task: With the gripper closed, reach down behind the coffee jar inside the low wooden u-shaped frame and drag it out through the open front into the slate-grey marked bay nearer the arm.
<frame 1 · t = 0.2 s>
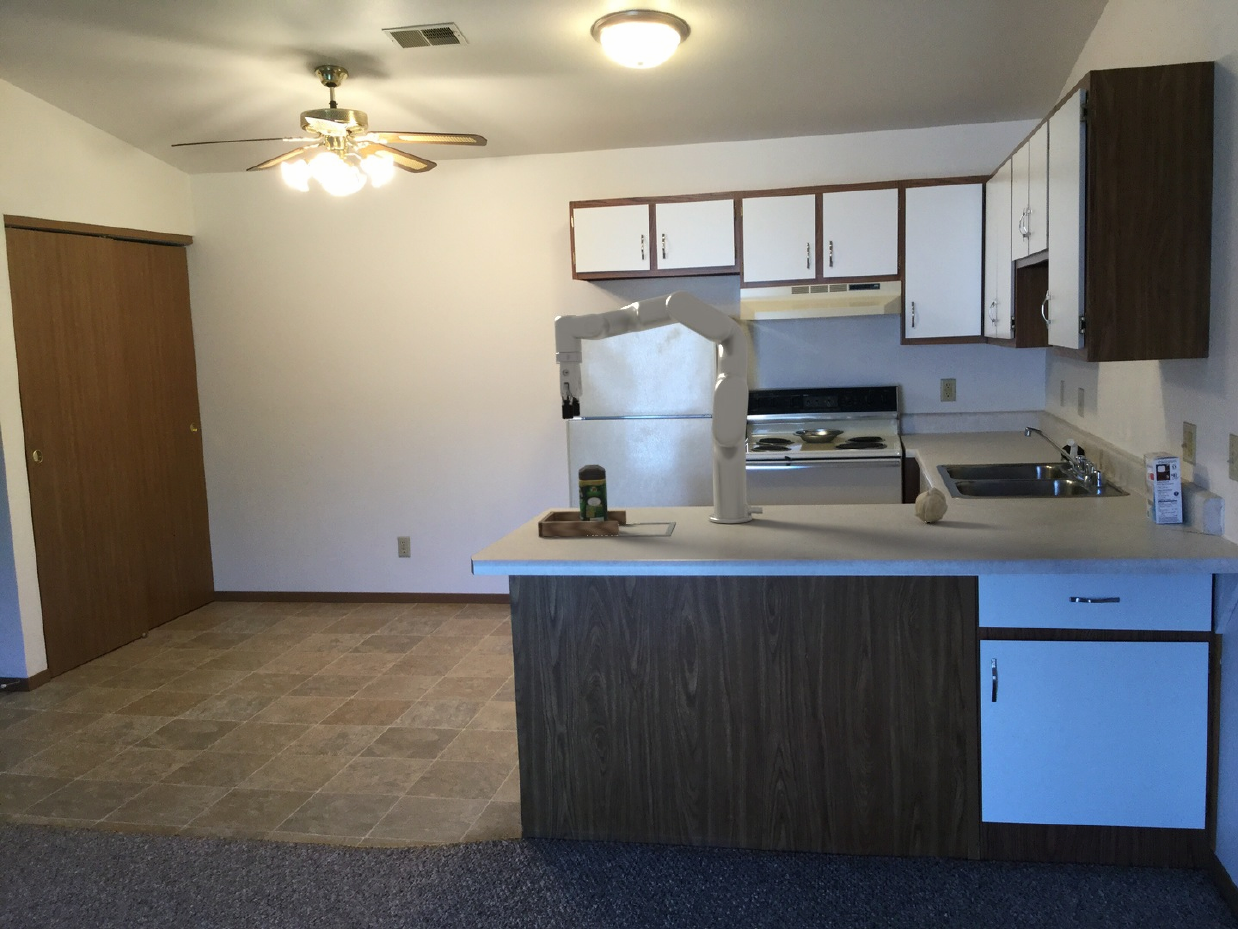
hand: (571, 417, 283), 31 cm above the countertop, tool pointing down, fingers open, 9 cm apart
wooden u-shaped frame: (577, 530, 275), on the countertop
coffee jar: (594, 530, 275), on the countertop
grey bay: (647, 529, 273), on the countertop
garlic bulb: (931, 523, 267), on the countertop
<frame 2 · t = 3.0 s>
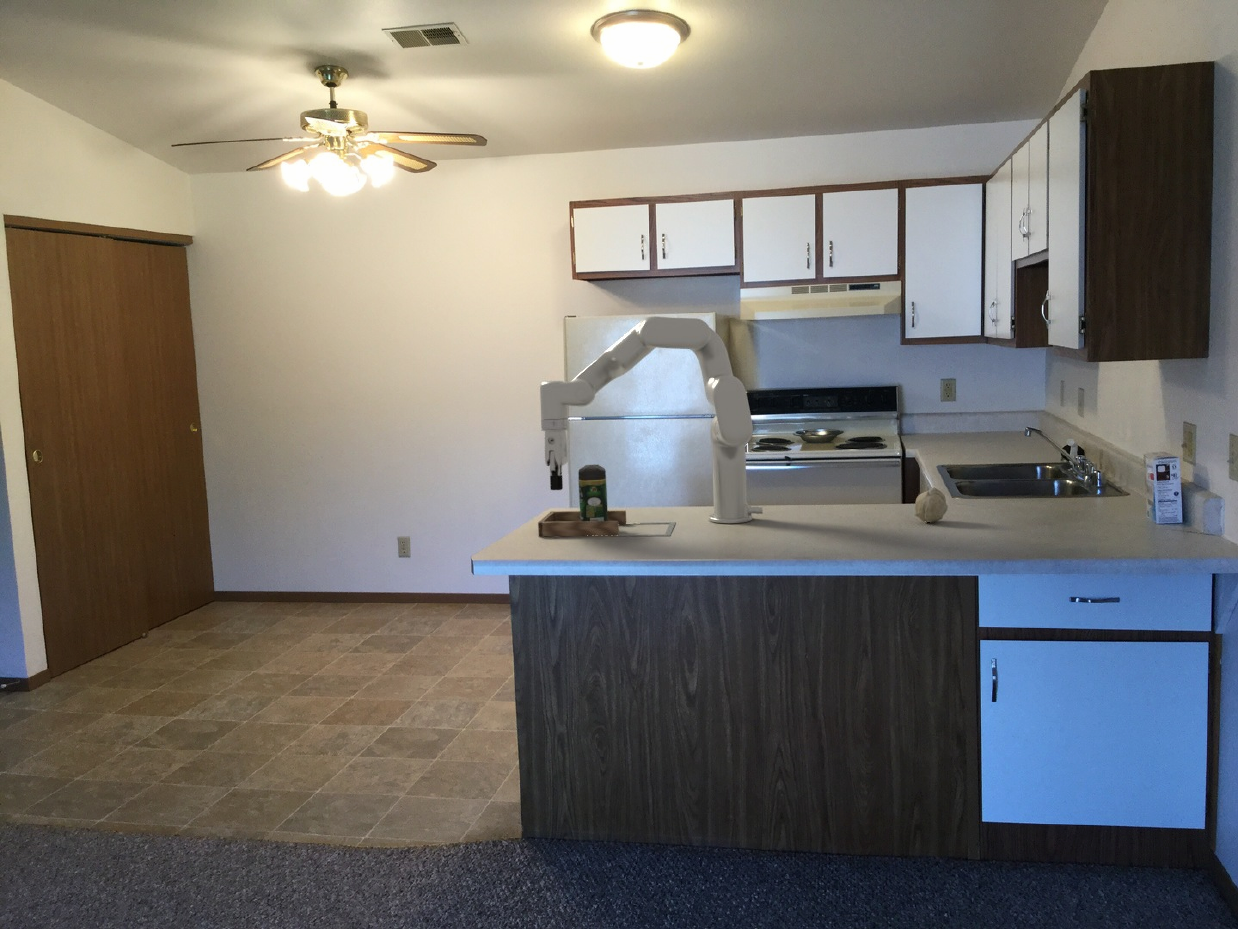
hand: (556, 489, 275), 12 cm above the countertop, tool pointing down, fingers closed
nothing on the countertop moved.
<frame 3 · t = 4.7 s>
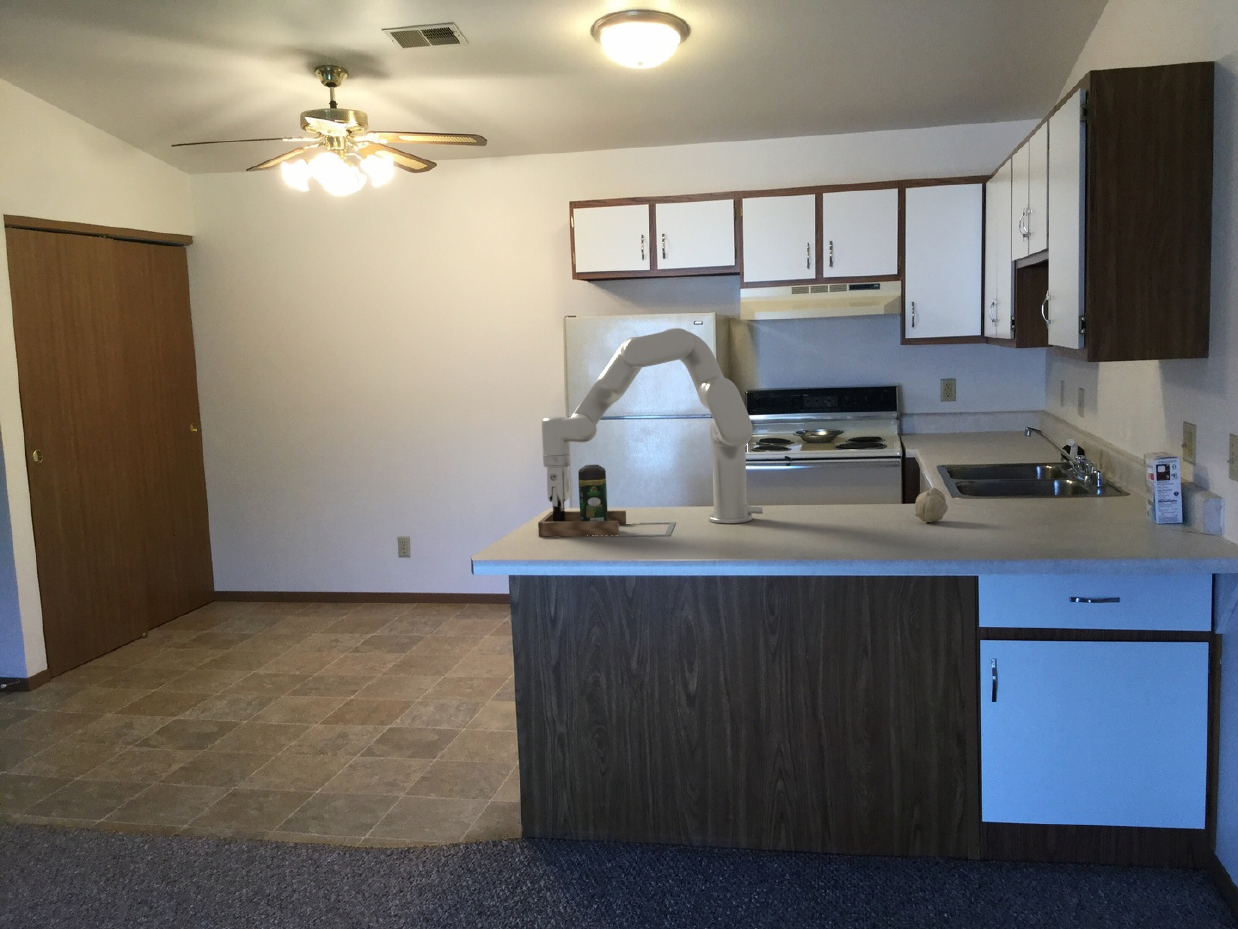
hand: (559, 524, 276), 2 cm above the countertop, tool pointing down, fingers closed
nothing on the countertop moved.
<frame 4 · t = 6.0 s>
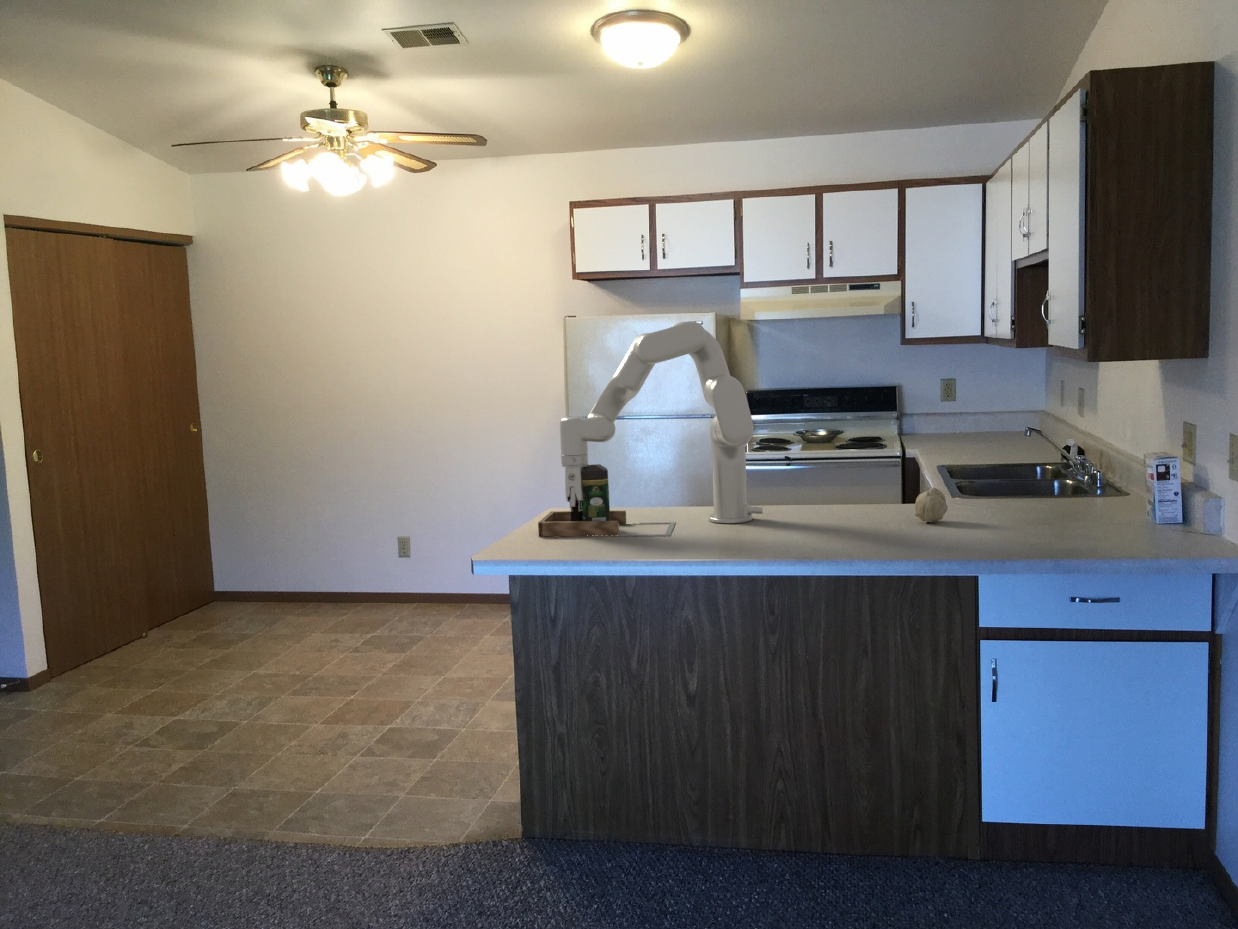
hand: (577, 524, 275), 2 cm above the countertop, tool pointing down, fingers closed
coffee jar: (596, 530, 275), on the countertop, touching gripper
everything else where it was.
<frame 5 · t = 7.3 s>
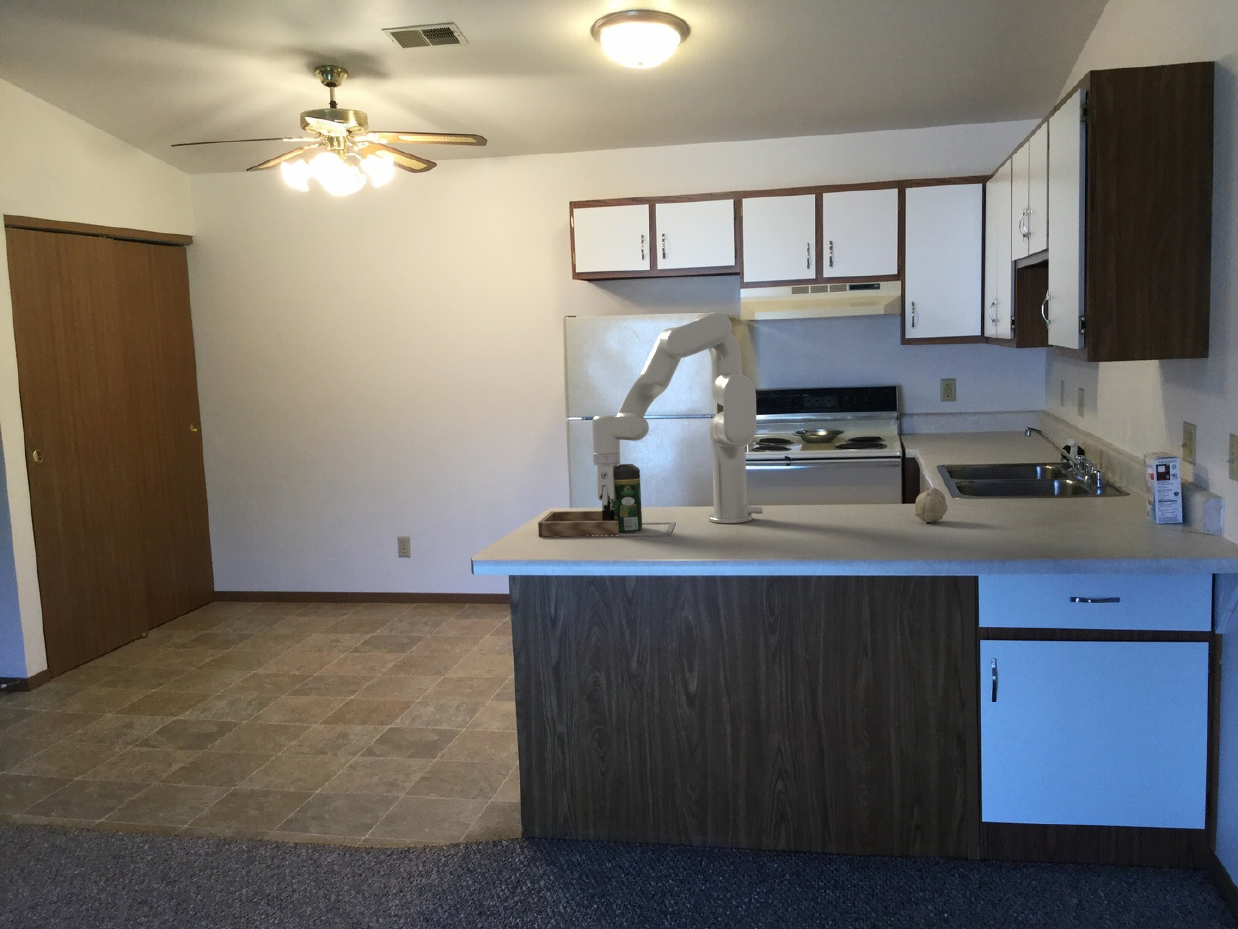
hand: (608, 523, 274), 2 cm above the countertop, tool pointing down, fingers closed
coffee jar: (628, 530, 273), on the countertop, touching gripper
everything else where it was.
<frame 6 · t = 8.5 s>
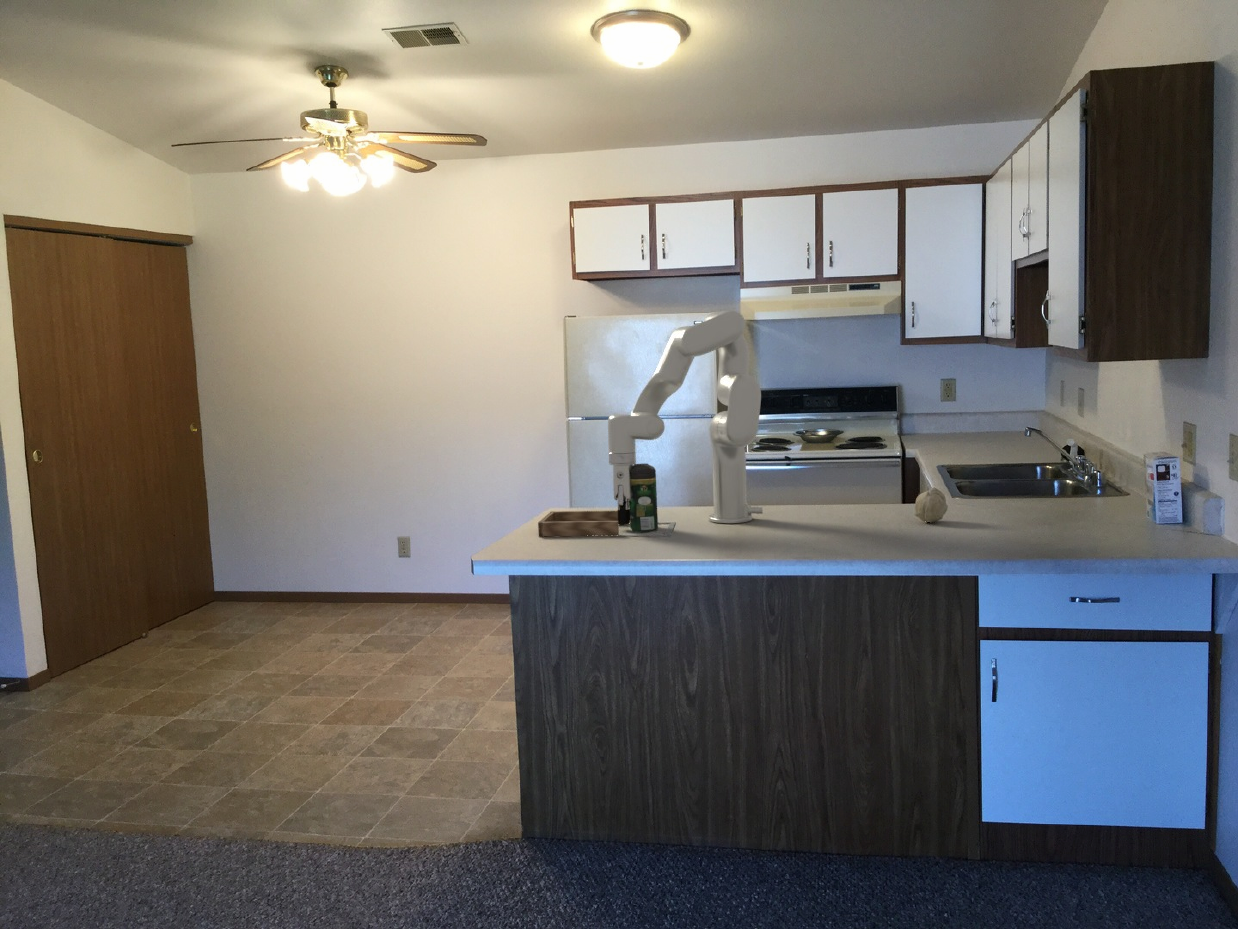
hand: (623, 523, 273), 2 cm above the countertop, tool pointing down, fingers closed
coffee jar: (643, 530, 273), on the countertop, touching gripper
everything else where it was.
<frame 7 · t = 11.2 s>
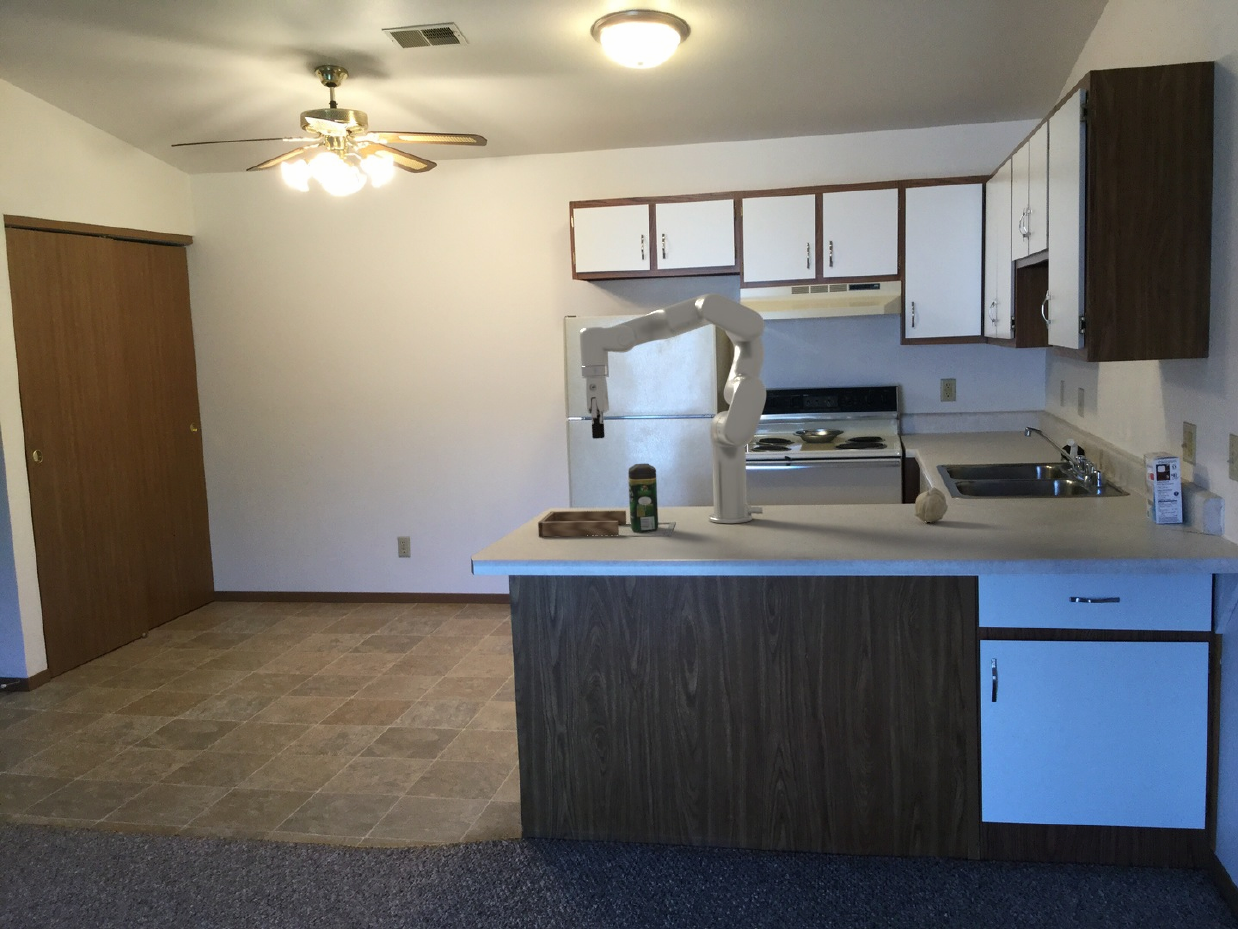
hand: (598, 437, 271), 26 cm above the countertop, tool pointing down, fingers closed
coffee jar: (644, 530, 273), on the countertop
everything else where it was.
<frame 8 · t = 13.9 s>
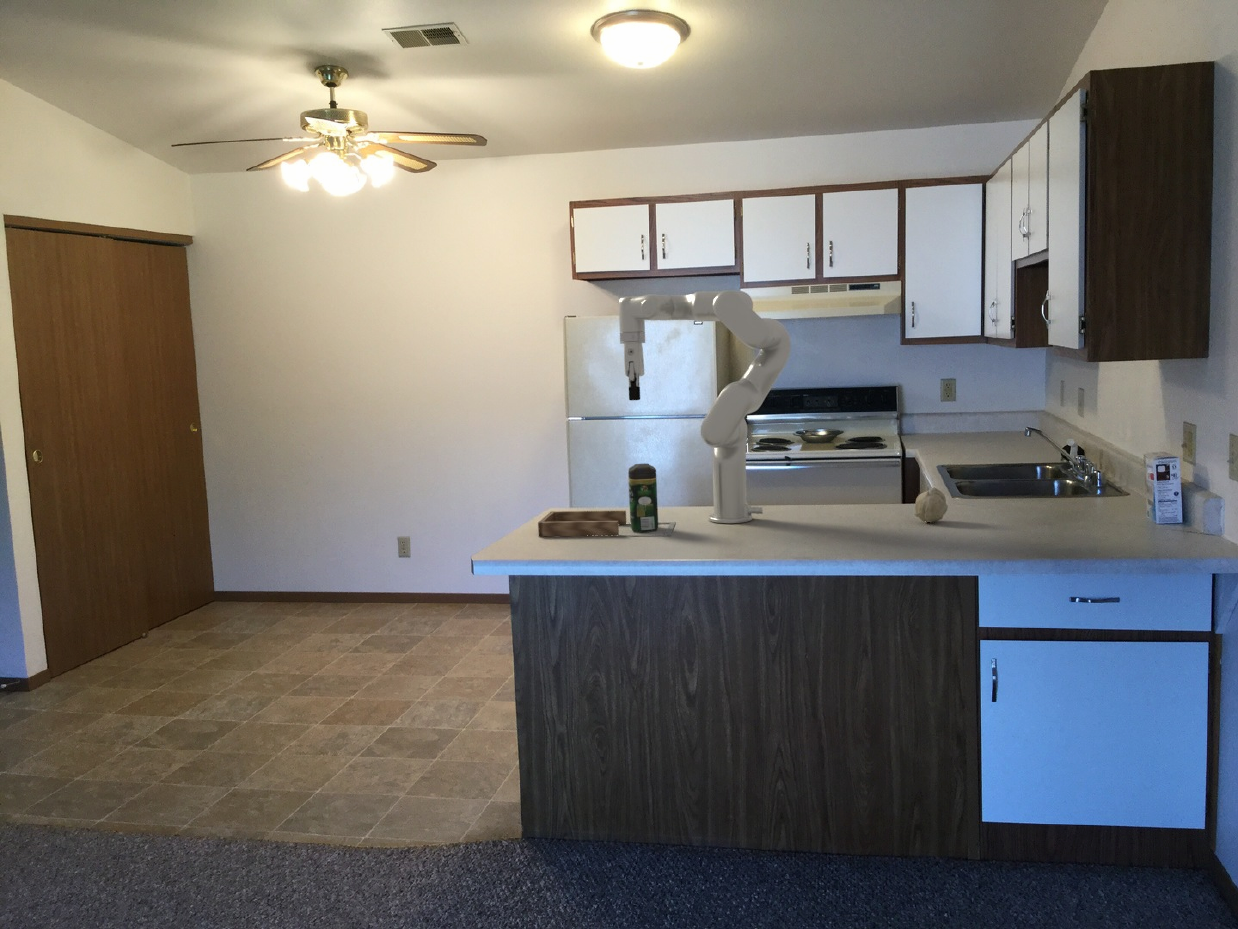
hand: (634, 399, 291), 35 cm above the countertop, tool pointing down, fingers closed
nothing on the countertop moved.
at the end: coffee jar inside the target area (0.3 cm from its centre), on the countertop; coffee jar tilted 0°; coffee jar moved 14.2 cm from its start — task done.
